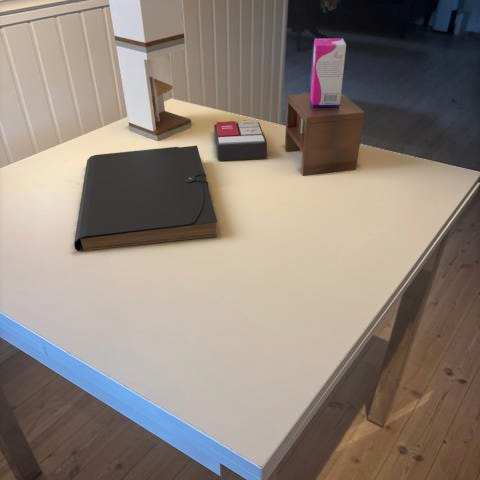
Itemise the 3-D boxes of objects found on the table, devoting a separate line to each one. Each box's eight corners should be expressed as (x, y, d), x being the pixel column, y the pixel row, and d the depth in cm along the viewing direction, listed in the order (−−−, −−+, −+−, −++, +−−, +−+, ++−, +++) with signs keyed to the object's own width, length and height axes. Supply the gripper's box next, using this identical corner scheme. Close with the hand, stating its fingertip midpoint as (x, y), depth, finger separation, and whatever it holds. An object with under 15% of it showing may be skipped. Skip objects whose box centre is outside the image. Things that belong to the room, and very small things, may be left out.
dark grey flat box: (258, 118, 118) (267, 139, 106) (258, 136, 121) (266, 158, 109) (213, 120, 117) (217, 141, 106) (214, 138, 120) (218, 161, 108)
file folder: (218, 219, 82) (71, 236, 79) (219, 240, 84) (77, 257, 82) (197, 143, 106) (85, 154, 103) (199, 161, 109) (89, 172, 106)
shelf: (333, 144, 115) (339, 90, 107) (356, 169, 105) (365, 112, 97) (284, 149, 113) (287, 95, 105) (302, 175, 103) (307, 117, 95)
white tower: (157, 140, 118) (135, -38, 95) (129, 130, 123) (102, -41, 100) (191, 127, 124) (178, -43, 101) (163, 118, 130) (144, -46, 106)
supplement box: (337, 98, 103) (344, 37, 95) (339, 108, 99) (347, 44, 91) (309, 98, 103) (314, 37, 96) (311, 107, 99) (316, 44, 91)
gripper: (306, -113, 75) (326, 6, 81) (389, -131, 77) (403, -13, 83) (290, -90, 82) (309, 19, 88) (366, -107, 84) (380, 0, 90)
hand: (355, 3), depth 85 cm, fingers open, 8 cm apart
